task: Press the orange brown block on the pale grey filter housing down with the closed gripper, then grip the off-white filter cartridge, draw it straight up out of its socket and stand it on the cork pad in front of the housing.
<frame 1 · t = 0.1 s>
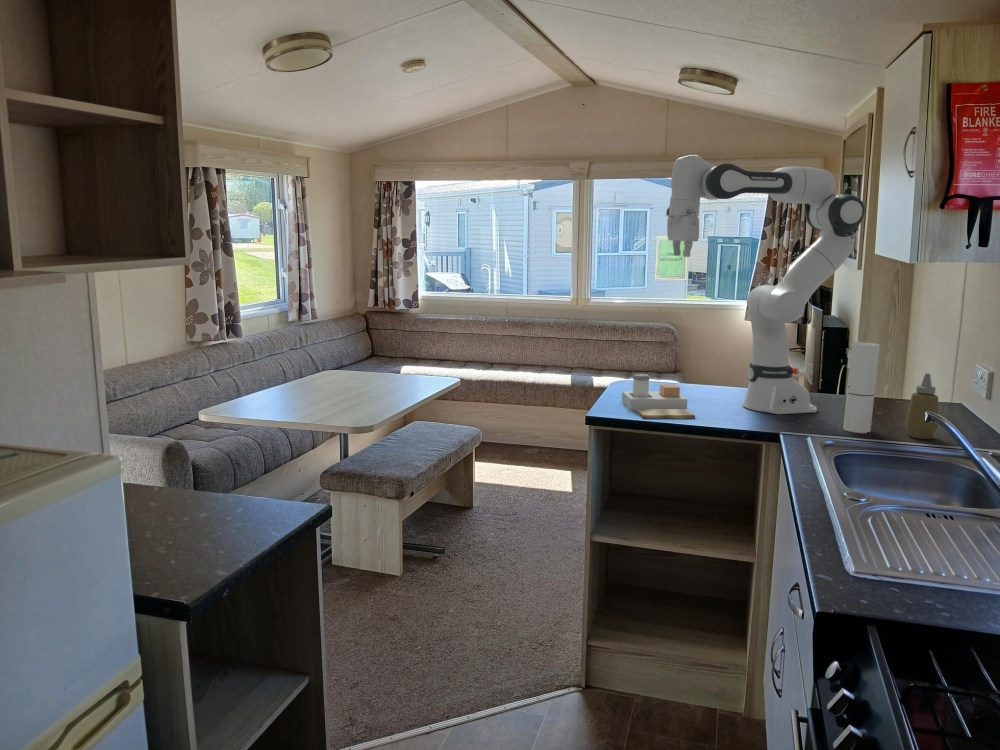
hand: (681, 256, 237), 48 cm above the table, fingers open, 8 cm apart
cork pad: (665, 415, 236), on the table
cylindrical container: (856, 430, 222), on the table
filter cartridge: (639, 405, 248), resting in filter housing
squeeze bottle: (919, 437, 216), on the table
orange brown block: (669, 392, 248), point 5 cm above the table, slide at 0.0 cm
filter housing: (653, 405, 248), on the table
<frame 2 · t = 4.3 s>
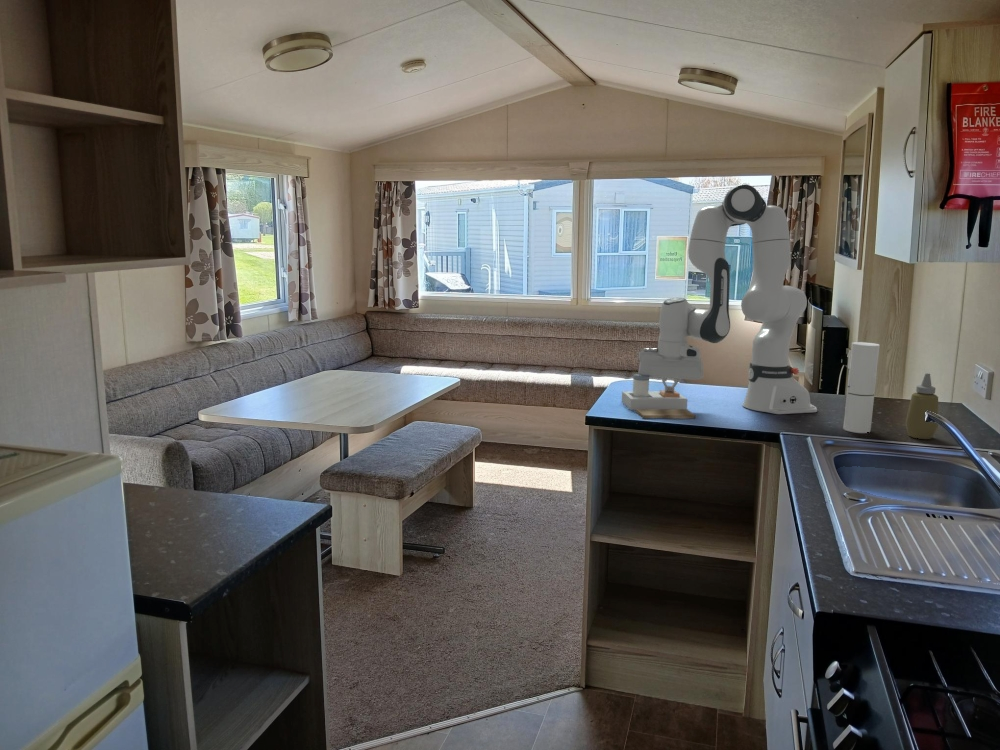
hand: (669, 391, 248), 5 cm above the table, fingers closed, pressing on orange brown block
orange brown block: (669, 398, 248), point 3 cm above the table, slide at 2.0 cm, touching gripper
everything else where it was.
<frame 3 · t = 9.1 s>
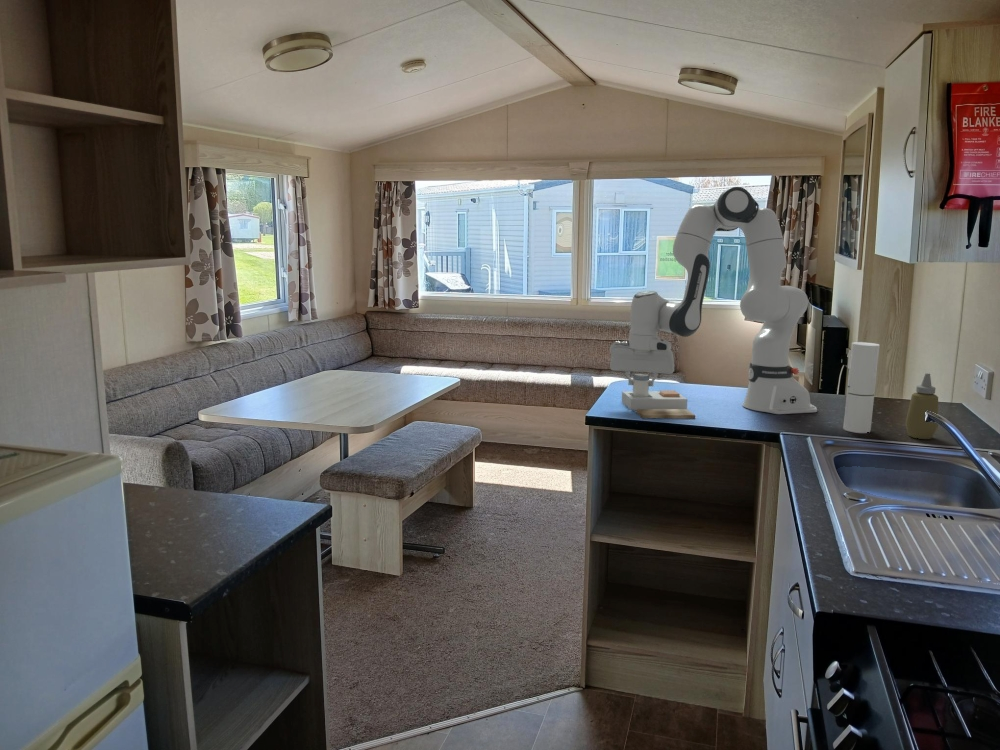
hand: (640, 385, 247), 7 cm above the table, fingers closed on filter cartridge, 5 cm apart
filter cartridge: (639, 405, 248), resting in filter housing, touching gripper
orange brown block: (669, 398, 248), point 2 cm above the table, slide at 2.0 cm
everything else where it was.
when the fingers open (9 cm above the table, at t = 17.7 s): filter cartridge drops 1 cm, resting on cork pad.
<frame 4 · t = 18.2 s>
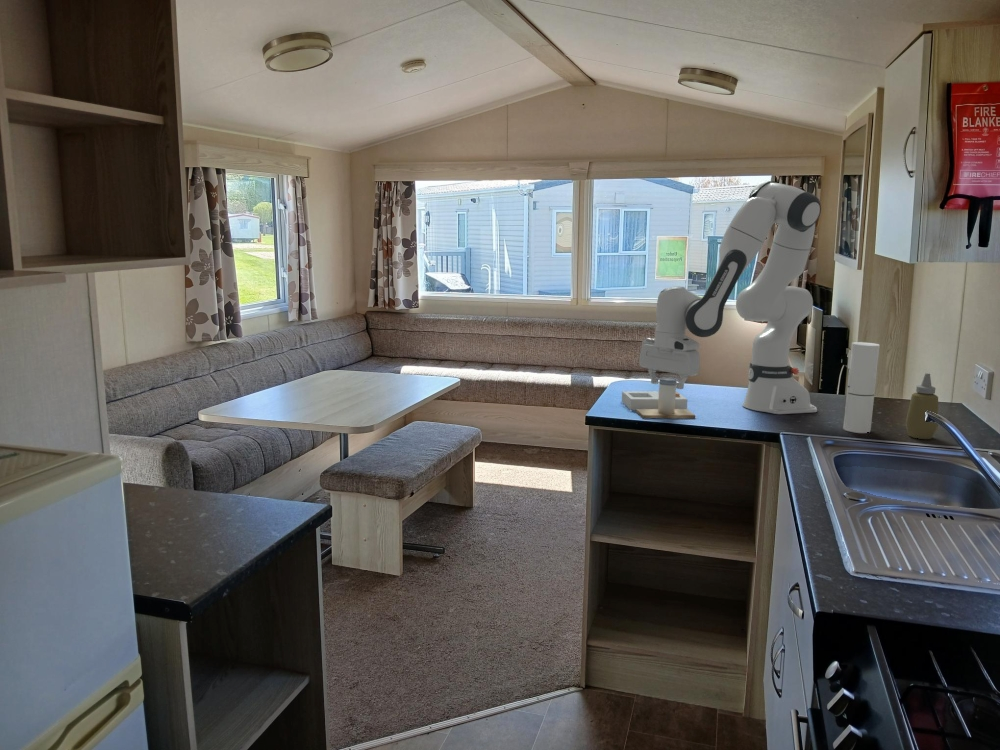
hand: (667, 386, 234), 9 cm above the table, fingers open, 8 cm apart
filter cartridge: (666, 411, 236), point 1 cm above the table, touching cork pad
everything else where it was.
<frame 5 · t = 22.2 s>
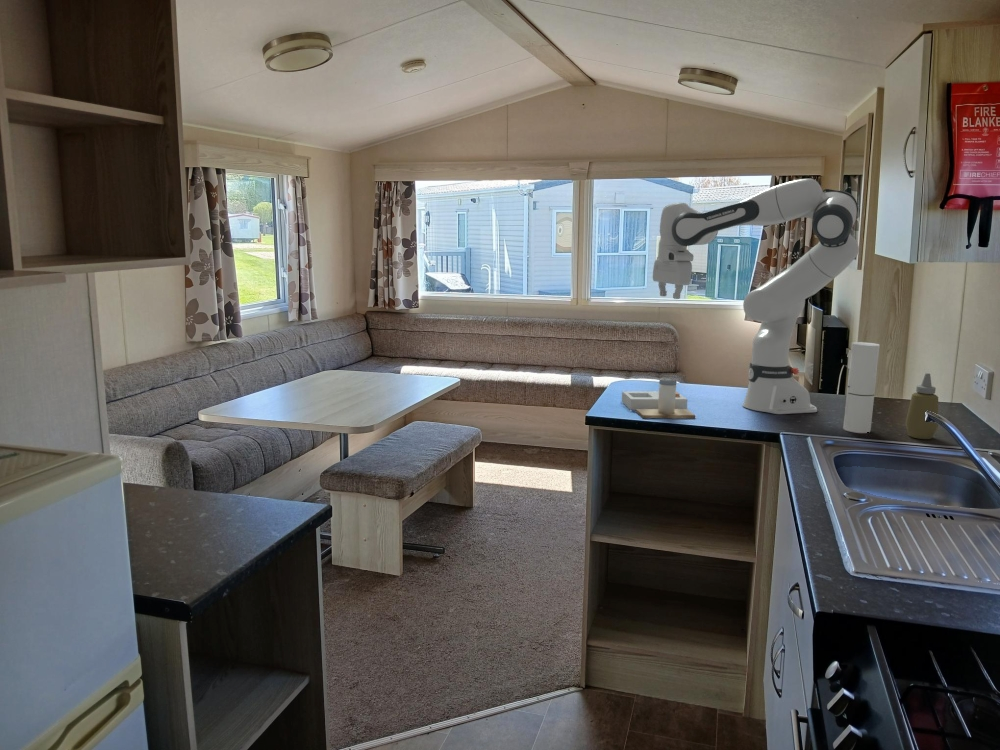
hand: (669, 297, 251), 34 cm above the table, fingers open, 8 cm apart
nothing on the table moved.
at the end: orange brown block slide at 2.0 cm; filter cartridge inside the target area on the cork pad (0.4 cm from its centre), point 1.0 cm above the cork pad's base; filter cartridge tilted 1° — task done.
